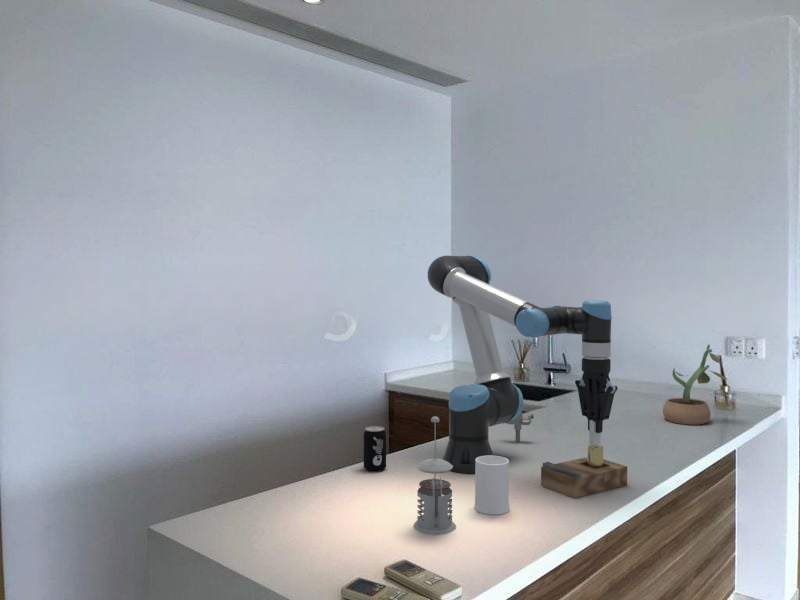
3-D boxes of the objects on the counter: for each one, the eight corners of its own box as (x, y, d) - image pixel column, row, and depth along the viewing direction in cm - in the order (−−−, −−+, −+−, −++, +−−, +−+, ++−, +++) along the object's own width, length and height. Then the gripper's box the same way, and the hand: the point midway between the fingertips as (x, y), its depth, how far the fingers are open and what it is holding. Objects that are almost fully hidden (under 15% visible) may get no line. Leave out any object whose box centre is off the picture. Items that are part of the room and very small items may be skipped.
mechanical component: (533, 444, 218) (533, 414, 217) (502, 442, 220) (502, 412, 219) (533, 441, 221) (533, 412, 220) (502, 440, 223) (502, 411, 222)
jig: (574, 498, 165) (574, 475, 165) (541, 485, 176) (541, 463, 175) (627, 484, 176) (627, 462, 176) (592, 473, 186) (592, 452, 186)
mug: (492, 496, 167) (493, 450, 166) (522, 504, 161) (523, 456, 161) (467, 509, 158) (467, 460, 157) (497, 518, 152) (498, 467, 152)
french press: (453, 517, 152) (454, 411, 151) (460, 537, 141) (460, 423, 140) (411, 518, 152) (412, 411, 151) (414, 538, 140) (415, 423, 139)
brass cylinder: (595, 485, 175) (596, 449, 175) (584, 481, 178) (584, 445, 178) (605, 483, 177) (606, 447, 177) (594, 479, 181) (594, 443, 180)
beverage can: (366, 473, 186) (366, 431, 185) (361, 466, 192) (361, 426, 192) (388, 471, 188) (388, 430, 187) (383, 465, 194) (383, 425, 193)
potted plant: (659, 423, 247) (661, 345, 246) (665, 414, 263) (666, 340, 262) (726, 430, 237) (728, 348, 236) (727, 420, 253) (729, 343, 252)
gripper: (625, 359, 173) (623, 447, 174) (587, 354, 184) (586, 436, 185) (605, 361, 169) (604, 451, 170) (568, 355, 180) (567, 440, 181)
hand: (594, 443), depth 177 cm, fingers closed
